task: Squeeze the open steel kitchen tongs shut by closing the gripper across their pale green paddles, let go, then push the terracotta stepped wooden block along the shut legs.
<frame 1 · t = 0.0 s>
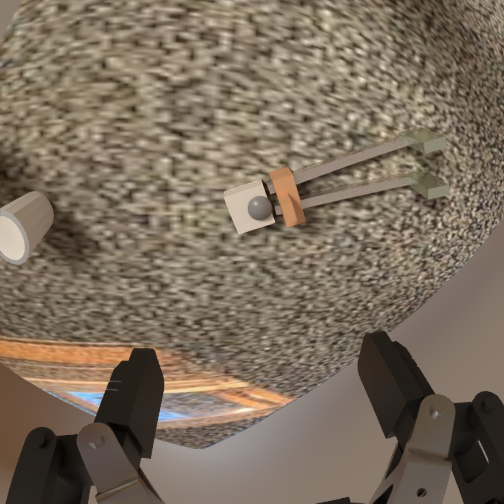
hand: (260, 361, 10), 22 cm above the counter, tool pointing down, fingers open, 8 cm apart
leg 2: (359, 160, 26), point 3 cm above the counter, hinge at 4.0°
leg 1: (365, 196, 29), point 2 cm above the counter, hinge at -4.0°
stepped wooden block: (289, 201, 28), point 3 cm above the counter, slide at 0.0 cm
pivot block: (258, 200, 31), on the counter
shot glass: (38, 211, 29), on the counter
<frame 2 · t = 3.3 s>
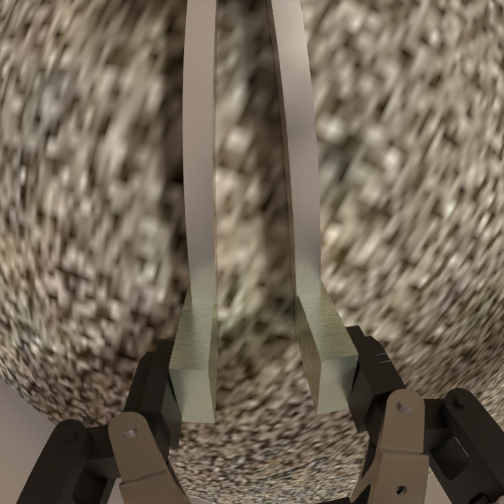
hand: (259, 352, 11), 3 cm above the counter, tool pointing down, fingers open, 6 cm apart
leg 2: (315, 126, 8), point 3 cm above the counter, hinge at 3.2°, touching gripper
leg 1: (186, 131, 8), point 3 cm above the counter, hinge at -3.4°, touching gripper
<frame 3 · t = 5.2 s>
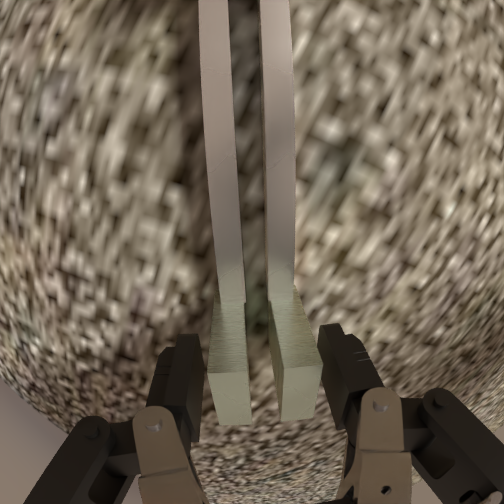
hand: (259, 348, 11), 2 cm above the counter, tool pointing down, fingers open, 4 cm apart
leg 2: (291, 130, 8), point 2 cm above the counter, hinge at -0.5°
leg 1: (211, 133, 8), point 2 cm above the counter, hinge at 0.5°
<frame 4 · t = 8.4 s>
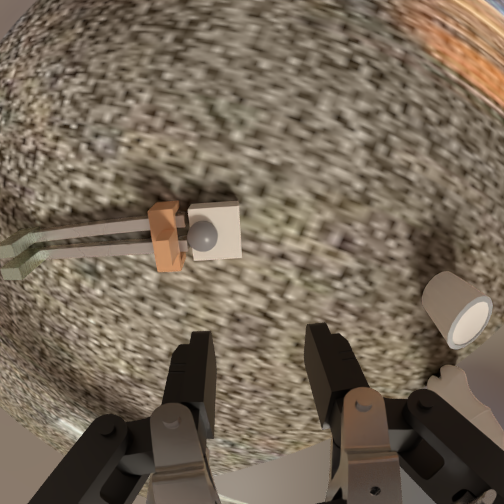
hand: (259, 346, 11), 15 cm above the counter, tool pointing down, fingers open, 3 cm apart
leg 2: (84, 259, 23), point 2 cm above the counter, hinge at -0.5°
leg 1: (78, 234, 22), point 2 cm above the counter, hinge at 0.5°
water bottle: (439, 375, 37), on the counter
stepped wooden block: (164, 241, 23), point 3 cm above the counter, slide at 0.0 cm
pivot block: (205, 227, 25), on the counter
shot glass: (438, 291, 30), on the counter
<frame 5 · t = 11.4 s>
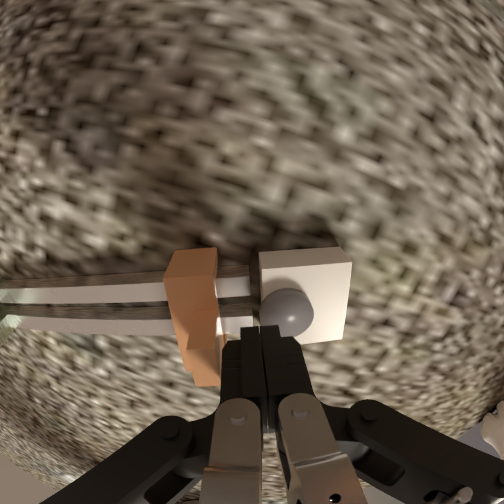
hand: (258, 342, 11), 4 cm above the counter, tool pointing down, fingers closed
leg 2: (73, 342, 13), point 2 cm above the counter, hinge at -0.5°
leg 1: (57, 306, 12), point 2 cm above the counter, hinge at 0.5°
water bottle: (493, 410, 26), on the counter
stepped wooden block: (197, 326, 12), point 3 cm above the counter, slide at 0.9 cm, touching gripper
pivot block: (280, 290, 15), on the counter
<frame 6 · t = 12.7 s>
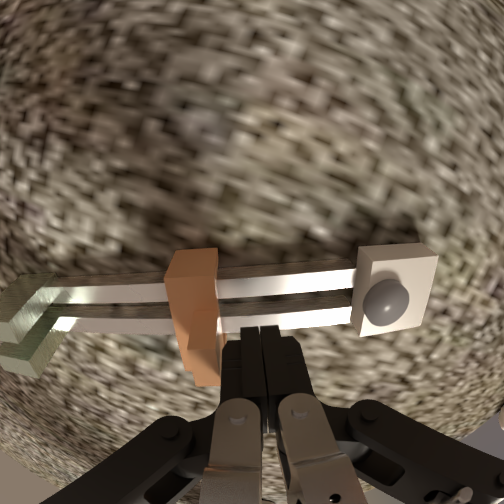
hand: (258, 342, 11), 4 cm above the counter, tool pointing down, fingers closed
leg 2: (159, 345, 13), point 2 cm above the counter, hinge at -0.5°
leg 1: (148, 305, 12), point 2 cm above the counter, hinge at 0.5°
stepped wooden block: (197, 327, 12), point 3 cm above the counter, slide at 6.0 cm, touching gripper
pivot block: (370, 282, 15), on the counter
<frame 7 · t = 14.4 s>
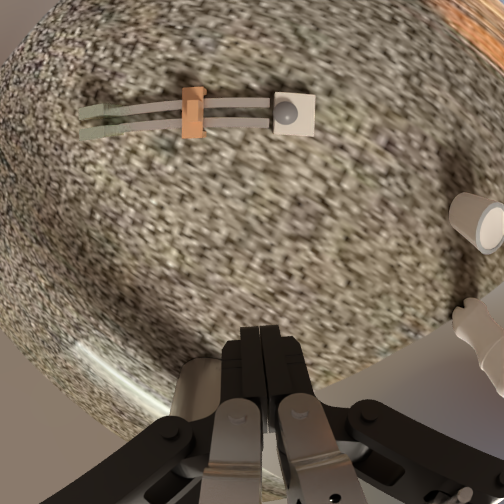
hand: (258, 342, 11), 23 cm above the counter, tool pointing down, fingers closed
leg 2: (172, 124, 26), point 3 cm above the counter, hinge at -0.5°
leg 1: (172, 102, 25), point 3 cm above the counter, hinge at 0.5°
water bottle: (462, 310, 40), on the counter
stepped wooden block: (192, 112, 26), point 3 cm above the counter, slide at 6.0 cm
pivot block: (283, 114, 28), on the counter
shot glass: (462, 211, 33), on the counter
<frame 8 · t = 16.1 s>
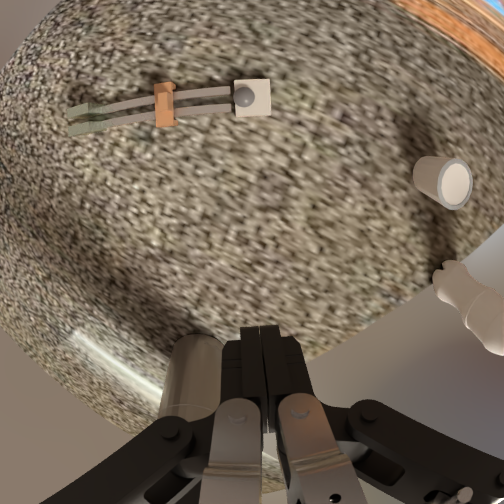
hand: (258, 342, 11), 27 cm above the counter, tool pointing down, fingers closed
leg 2: (147, 116, 29), point 2 cm above the counter, hinge at -0.5°
leg 1: (146, 97, 28), point 2 cm above the counter, hinge at 0.5°
water bottle: (442, 273, 43), on the counter
stepped wooden block: (163, 104, 29), point 3 cm above the counter, slide at 6.0 cm
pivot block: (243, 99, 31), on the counter
shot glass: (426, 174, 36), on the counter
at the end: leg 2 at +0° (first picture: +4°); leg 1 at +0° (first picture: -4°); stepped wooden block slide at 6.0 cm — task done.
